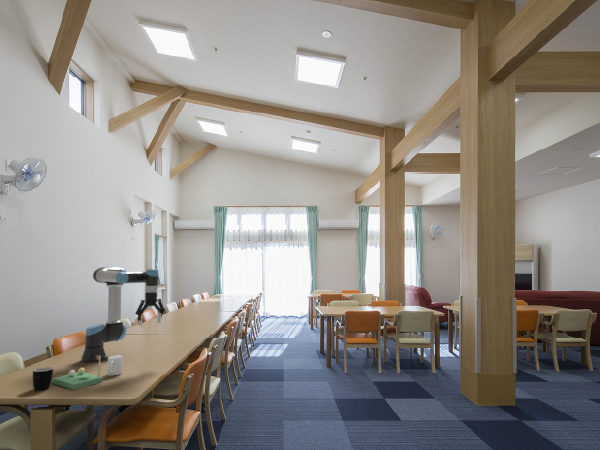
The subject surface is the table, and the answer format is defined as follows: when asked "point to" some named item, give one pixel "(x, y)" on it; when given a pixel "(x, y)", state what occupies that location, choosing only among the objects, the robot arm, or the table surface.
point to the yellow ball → (81, 370)
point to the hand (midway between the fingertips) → (149, 324)
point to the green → (78, 379)
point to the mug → (42, 378)
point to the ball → (71, 373)
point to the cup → (114, 365)
